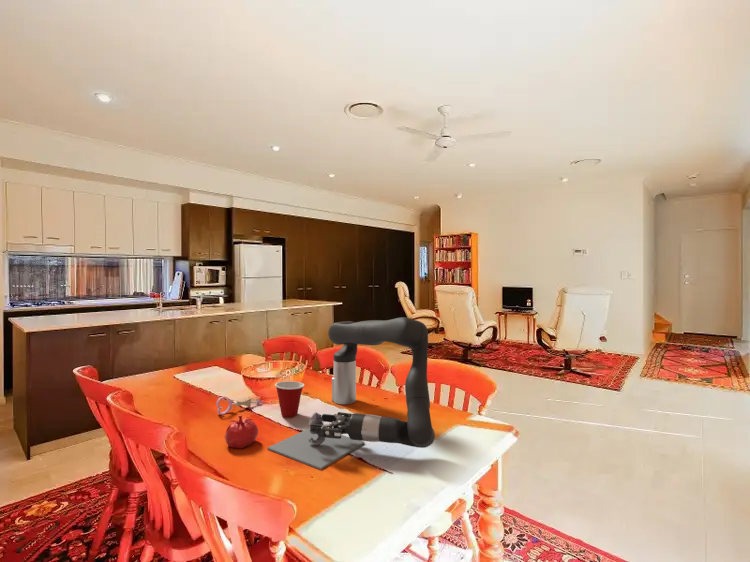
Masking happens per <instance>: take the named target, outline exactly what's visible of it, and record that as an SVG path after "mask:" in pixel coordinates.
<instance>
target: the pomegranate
mask: <svg viewBox="0 0 750 562" xmlns="http://www.w3.org/2000/svg"><path fill="white" fill-rule="evenodd" d="M231 422H232V423H231ZM229 423H230V424H229V426H228V427H227V428H226V431H225V433H224V434H225V435H224V439H225V442H226V444H227V446H228V447H230V448H231V449H243V448H246V447H248V446H250V445H252V444H253V443H254V442H255V441H256V438H257V437H258V433H259V428H258V425H257V424H256V423H255V422H254V421H253V419H252V418H249V417H248V416H246V417H244V419H243V415H242V414H240V415H238V420H234V419H232V420H229Z"/></svg>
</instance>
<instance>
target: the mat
mask: <svg viewBox="0 0 750 562" xmlns="http://www.w3.org/2000/svg"><path fill="white" fill-rule="evenodd" d="M309 429H310V427H309V428H307V429H304V430H302V431H300V432H298V433H296V434H294V435H291V436H290V437H287V438H285V439H283V440H280V441H278V442H277V443H274V444H272V445H270V446H268V447H267V450H269V451H271V452H274V453H276V454H278V455H280V456H284V457H286V458H289V459H291V460H293V461H296V462H299V463H302V464H304V465H307V466H309V467H312V468H315V469H317V470H319V471H322V470H323V469H324V468H326V467H328V466H330V465H331V464H333V463H335V462H336V461H338V460H340V459H341V458H343V457H345V456H346V455H348V454H349V453H352V452H353V451H355V450H356V449H358V448H360V447H361V446H363V445H364V444H365V441H360V440H352V439H350V438H349V436H348V435H344V434H341V438H340V439H336V438H325V441H324V442H323V443H322V444H320V445H315V444H312V443H311V442H309V439H310V438H313V440H316V439H317V438H318V435H317V434H311V433H310V430H309ZM328 435H329V434H328Z"/></svg>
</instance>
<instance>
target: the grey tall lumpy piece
mask: <svg viewBox="0 0 750 562" xmlns="http://www.w3.org/2000/svg"><path fill="white" fill-rule="evenodd" d="M308 420H309V421H308V426H309V427H310V425H311V424H319V425H325V424H324V422H323V421H322V414H320V413H318V412H314V413H313V414H311V417H310V418H309V419H308ZM308 429H309V428H308ZM309 430H310V429H309ZM310 433H311V434H317V435H318V438H317V439H316V440H313V438H310V439H309V442H311V443H312V444H315V445H320V444H322V443H323V442H324V441H325V438H324V437H321V433H316V432H311V431H310Z"/></svg>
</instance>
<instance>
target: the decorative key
mask: <svg viewBox="0 0 750 562" xmlns="http://www.w3.org/2000/svg"><path fill="white" fill-rule="evenodd" d="M225 399H226V401H228V406H227V408H226V409H225V410H224V411H222V412H221V410H222V409H223V408H224V407H222V406H220V402H221V401H222V400H225ZM263 402H265V401H264V400H260V399H259V398H256V400H254V401H253V399H252V398H251V397H248V398H247V399H245V400H242V401H241V400H237V401H236V402H235V401H234V399H231V398H229V397H227V396H225V395H224V396H220V397H218V399H217V400H216V404H215V405H216V407H217V410H216V412H217V414H219V415H221V416H224V415H226V414H228V412H230V411H231V410H233V409H234V407H233V405H234V406H236V407H239V406H247V407H248V408H251V404H255V405H256V406H258V405H260V404H261V403H263Z"/></svg>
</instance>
